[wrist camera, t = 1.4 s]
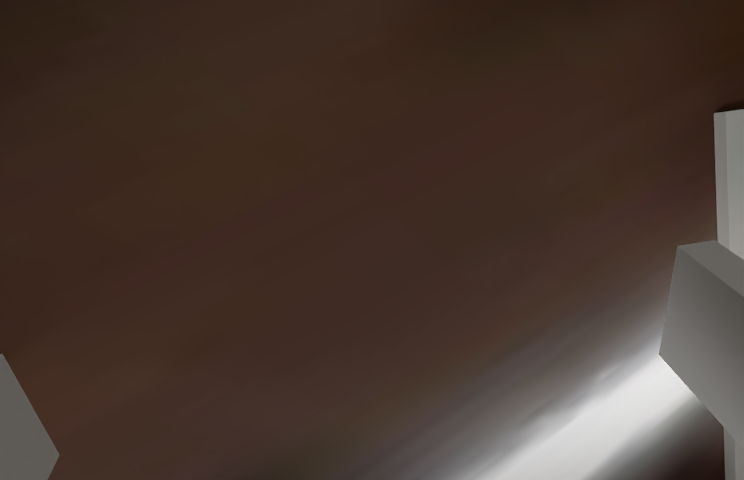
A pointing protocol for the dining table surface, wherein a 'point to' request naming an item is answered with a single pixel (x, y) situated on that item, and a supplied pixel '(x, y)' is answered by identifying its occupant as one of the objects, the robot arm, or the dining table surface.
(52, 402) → the dining table surface
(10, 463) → the robot arm
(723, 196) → the base board
